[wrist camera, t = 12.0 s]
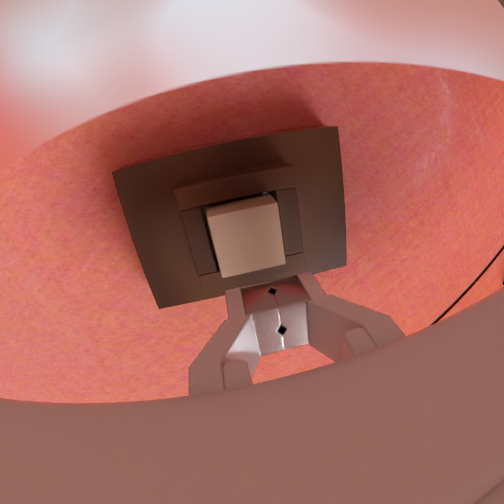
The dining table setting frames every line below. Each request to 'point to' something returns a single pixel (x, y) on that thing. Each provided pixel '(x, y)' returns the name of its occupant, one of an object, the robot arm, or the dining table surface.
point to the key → (246, 235)
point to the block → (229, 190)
